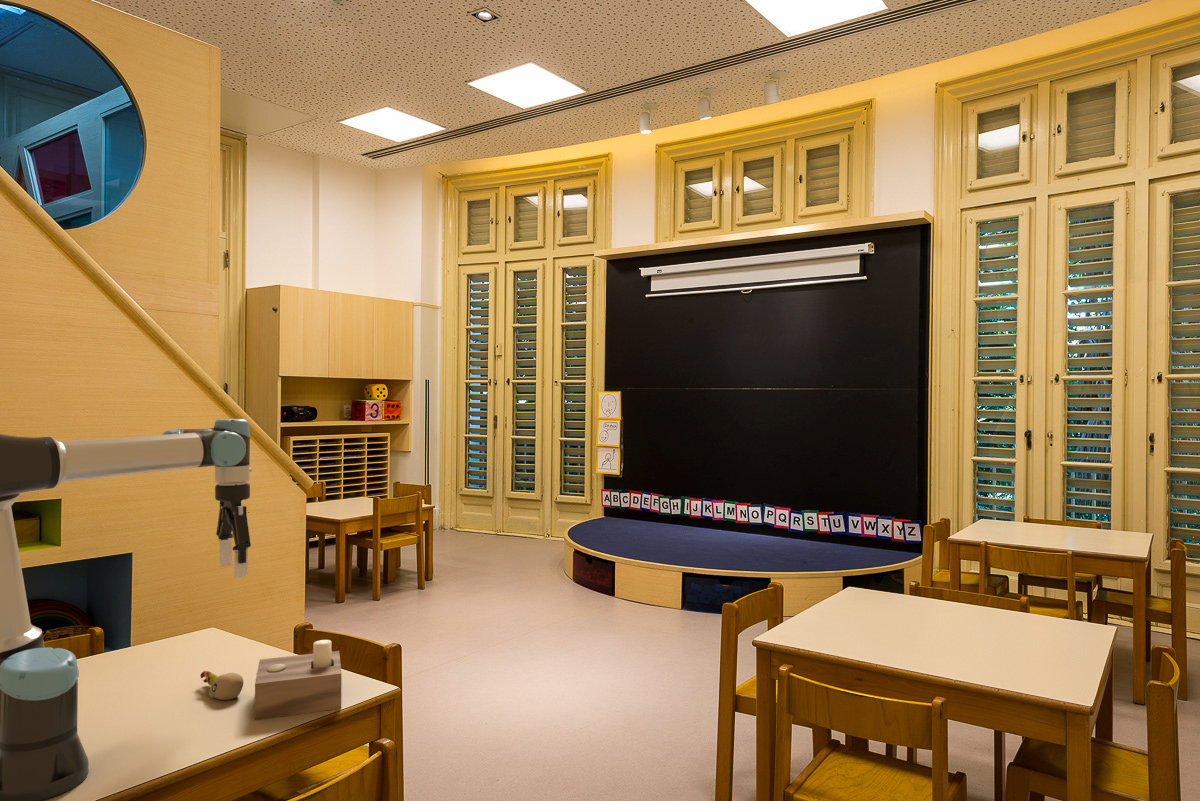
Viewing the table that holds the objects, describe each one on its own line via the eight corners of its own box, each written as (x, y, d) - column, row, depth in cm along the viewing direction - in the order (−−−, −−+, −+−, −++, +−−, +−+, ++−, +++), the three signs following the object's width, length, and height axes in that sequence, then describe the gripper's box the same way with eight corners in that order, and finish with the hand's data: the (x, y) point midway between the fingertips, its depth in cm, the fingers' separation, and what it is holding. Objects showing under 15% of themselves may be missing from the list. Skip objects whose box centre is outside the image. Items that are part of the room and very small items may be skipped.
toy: (186, 677, 181) (213, 692, 171) (213, 655, 185) (241, 669, 176) (199, 695, 183) (226, 711, 173) (226, 673, 188) (253, 688, 178)
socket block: (341, 708, 171) (341, 671, 171) (254, 720, 165) (254, 681, 165) (338, 682, 186) (339, 649, 186) (259, 692, 180) (259, 657, 180)
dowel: (331, 678, 176) (331, 644, 176) (313, 680, 175) (313, 646, 174) (331, 672, 180) (331, 639, 180) (313, 674, 178) (313, 640, 178)
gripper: (265, 487, 173) (265, 578, 173) (235, 477, 192) (235, 559, 192) (229, 489, 168) (230, 584, 168) (202, 479, 187) (203, 564, 187)
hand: (233, 571), depth 180 cm, fingers open, 13 cm apart
